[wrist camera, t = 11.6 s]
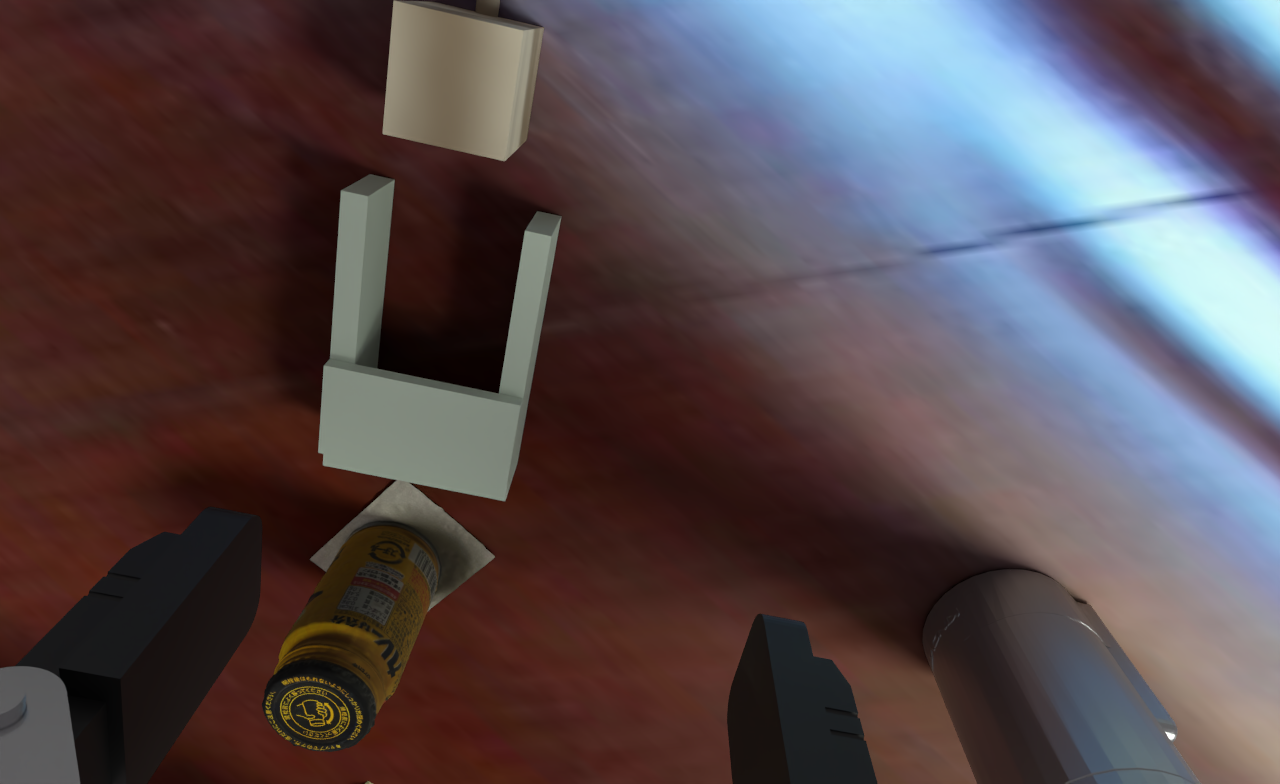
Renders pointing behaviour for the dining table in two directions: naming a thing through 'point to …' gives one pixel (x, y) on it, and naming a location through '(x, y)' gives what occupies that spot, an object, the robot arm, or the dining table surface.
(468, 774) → the dining table surface
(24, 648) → the dining table surface
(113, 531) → the dining table surface
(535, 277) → the u-shaped sage bracket
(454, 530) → the condiment
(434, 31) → the tethered block
